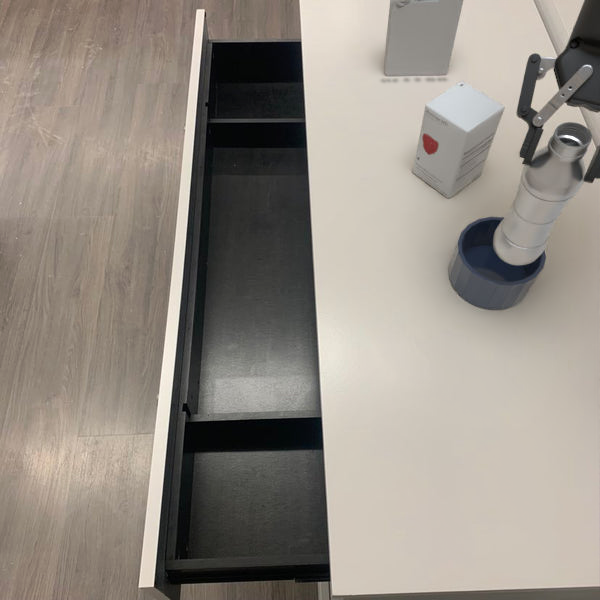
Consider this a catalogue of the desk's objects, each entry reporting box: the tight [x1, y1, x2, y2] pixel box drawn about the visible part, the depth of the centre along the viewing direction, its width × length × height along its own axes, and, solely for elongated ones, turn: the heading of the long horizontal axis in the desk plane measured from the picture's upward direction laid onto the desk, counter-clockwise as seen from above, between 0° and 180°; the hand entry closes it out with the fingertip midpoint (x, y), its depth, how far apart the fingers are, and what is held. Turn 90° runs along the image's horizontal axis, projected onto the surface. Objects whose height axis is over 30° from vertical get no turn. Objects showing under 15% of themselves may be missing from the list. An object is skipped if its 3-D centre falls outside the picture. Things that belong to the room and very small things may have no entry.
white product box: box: [412, 80, 506, 199], centre depth 89 cm, size 9×9×15 cm
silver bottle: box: [493, 121, 593, 265], centre depth 62 cm, size 6×7×20 cm
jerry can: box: [383, 0, 464, 77], centre depth 100 cm, size 15×5×25 cm, turn 88°
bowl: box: [448, 216, 547, 311], centre depth 80 cm, size 12×12×7 cm
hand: (556, 172), depth 56 cm, fingers closed on silver bottle, 5 cm apart
